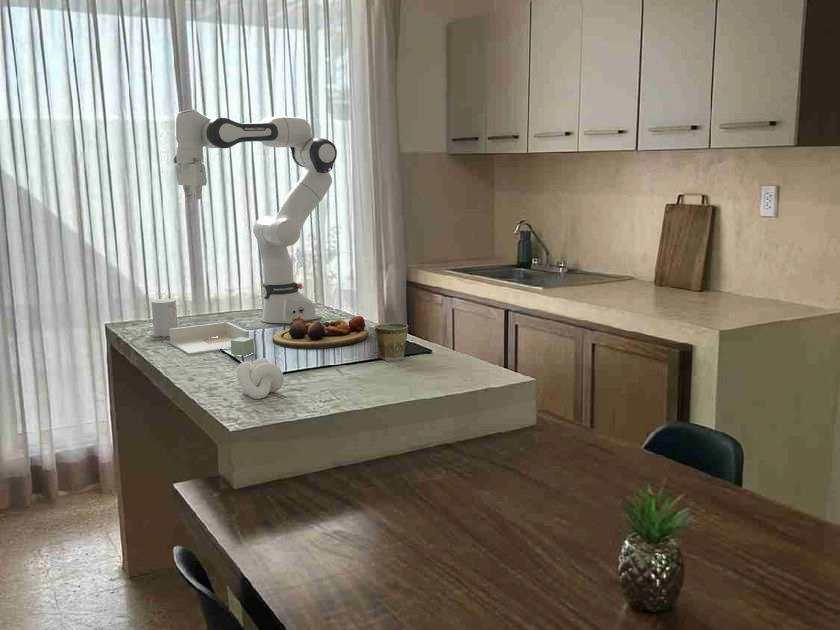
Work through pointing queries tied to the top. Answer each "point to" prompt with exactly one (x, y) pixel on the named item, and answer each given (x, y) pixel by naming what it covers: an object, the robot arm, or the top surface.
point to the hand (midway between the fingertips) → (193, 199)
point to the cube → (242, 346)
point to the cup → (164, 316)
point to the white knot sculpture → (259, 378)
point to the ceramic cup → (391, 340)
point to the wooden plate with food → (321, 333)
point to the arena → (206, 337)
